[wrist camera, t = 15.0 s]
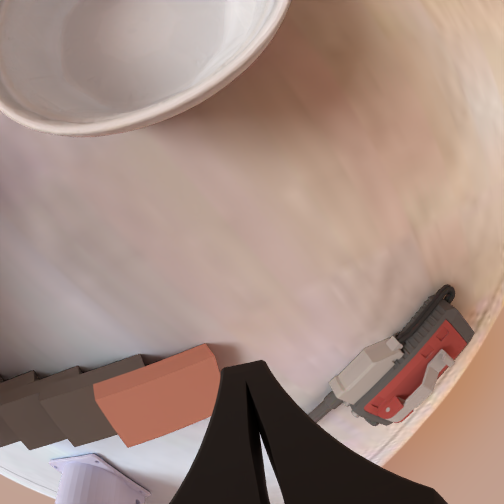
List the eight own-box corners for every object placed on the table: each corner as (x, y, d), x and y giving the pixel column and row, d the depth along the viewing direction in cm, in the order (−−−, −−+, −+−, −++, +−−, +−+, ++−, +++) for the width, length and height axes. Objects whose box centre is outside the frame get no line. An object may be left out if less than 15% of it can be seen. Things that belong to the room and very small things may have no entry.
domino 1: (34, 381, 17) (-38, 407, 13) (63, 424, 19) (-5, 448, 15) (33, 370, 18) (-36, 396, 14) (61, 413, 20) (-5, 436, 16)
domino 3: (144, 366, 18) (39, 401, 15) (168, 416, 20) (74, 447, 16) (139, 353, 19) (40, 386, 16) (162, 402, 21) (73, 432, 18)
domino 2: (79, 377, 18) (-6, 407, 14) (108, 424, 19) (29, 450, 16) (77, 365, 19) (-4, 394, 15) (104, 411, 21) (28, 437, 17)
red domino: (214, 355, 18) (95, 400, 15) (230, 407, 20) (127, 447, 17) (205, 343, 20) (92, 384, 16) (221, 394, 21) (123, 432, 18)
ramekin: (68, -41, 10) (29, -91, 3) (271, -48, 12) (303, -112, 5) (29, 144, 14) (-46, 152, 7) (251, 144, 16) (284, 143, 10)
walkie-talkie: (428, 263, 21) (263, 434, 24) (465, 286, 17) (273, 473, 20) (465, 312, 24) (326, 451, 27) (495, 334, 20) (339, 483, 23)
